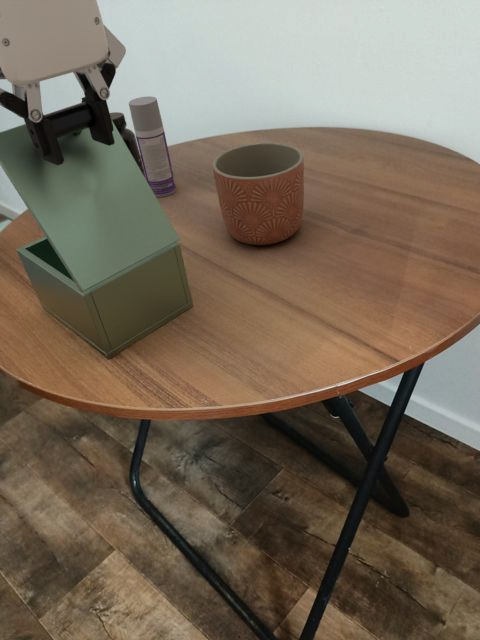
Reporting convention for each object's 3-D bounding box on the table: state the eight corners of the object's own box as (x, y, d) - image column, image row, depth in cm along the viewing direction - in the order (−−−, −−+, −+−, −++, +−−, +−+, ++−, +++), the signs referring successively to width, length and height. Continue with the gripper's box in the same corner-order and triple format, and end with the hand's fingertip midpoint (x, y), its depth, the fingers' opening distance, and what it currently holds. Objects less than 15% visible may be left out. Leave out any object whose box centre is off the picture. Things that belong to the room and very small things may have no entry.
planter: (293, 257, 71) (288, 180, 64) (210, 249, 75) (197, 175, 68) (315, 214, 80) (313, 143, 73) (240, 209, 83) (231, 140, 76)
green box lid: (-16, 140, 49) (-11, 112, 44) (97, 102, 55) (113, 74, 51) (81, 292, 53) (95, 282, 48) (177, 241, 59) (198, 227, 54)
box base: (43, 308, 67) (15, 249, 62) (123, 265, 74) (105, 208, 68) (108, 359, 58) (83, 295, 53) (193, 306, 65) (179, 243, 59)
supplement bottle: (154, 182, 95) (137, 113, 87) (123, 196, 91) (103, 126, 84) (132, 174, 99) (114, 107, 91) (102, 187, 95) (81, 119, 87)
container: (155, 185, 94) (134, 96, 84) (179, 185, 93) (161, 95, 83) (145, 197, 90) (122, 105, 80) (171, 197, 89) (151, 105, 79)
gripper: (76, -101, 45) (129, 119, 57) (-137, -80, 36) (-22, 173, 48) (126, -107, 41) (171, 131, 53) (-102, -86, 32) (15, 193, 44)
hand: (78, 149), depth 50 cm, fingers closed on green box lid, 4 cm apart
